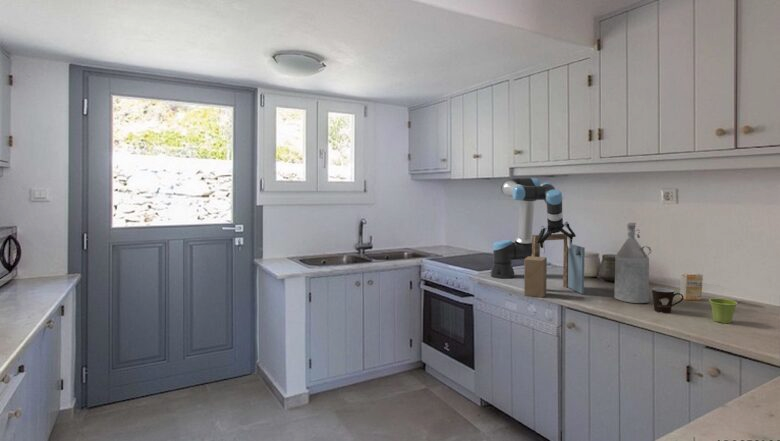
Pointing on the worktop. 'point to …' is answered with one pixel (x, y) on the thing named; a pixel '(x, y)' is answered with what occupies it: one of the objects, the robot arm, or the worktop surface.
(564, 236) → the door frame
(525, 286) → the wooden block
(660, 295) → the coffee mug
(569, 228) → the robot arm
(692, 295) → the supplement box
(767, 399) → the worktop surface
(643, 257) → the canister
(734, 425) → the worktop surface
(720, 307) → the plant pot
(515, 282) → the worktop surface
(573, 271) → the door
